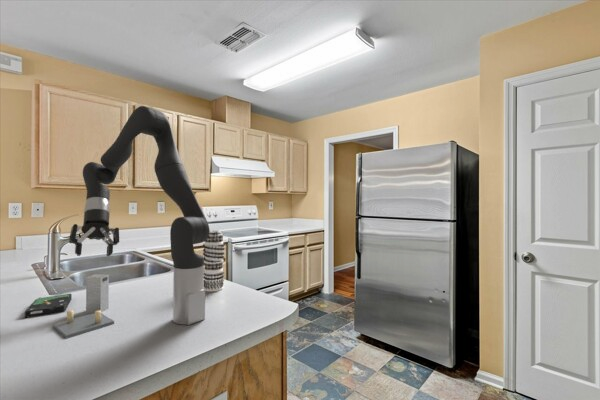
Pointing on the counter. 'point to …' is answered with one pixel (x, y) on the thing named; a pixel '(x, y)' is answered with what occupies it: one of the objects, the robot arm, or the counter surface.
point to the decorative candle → (213, 261)
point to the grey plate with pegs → (82, 323)
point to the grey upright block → (97, 293)
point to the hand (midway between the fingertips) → (94, 255)
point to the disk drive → (48, 305)
